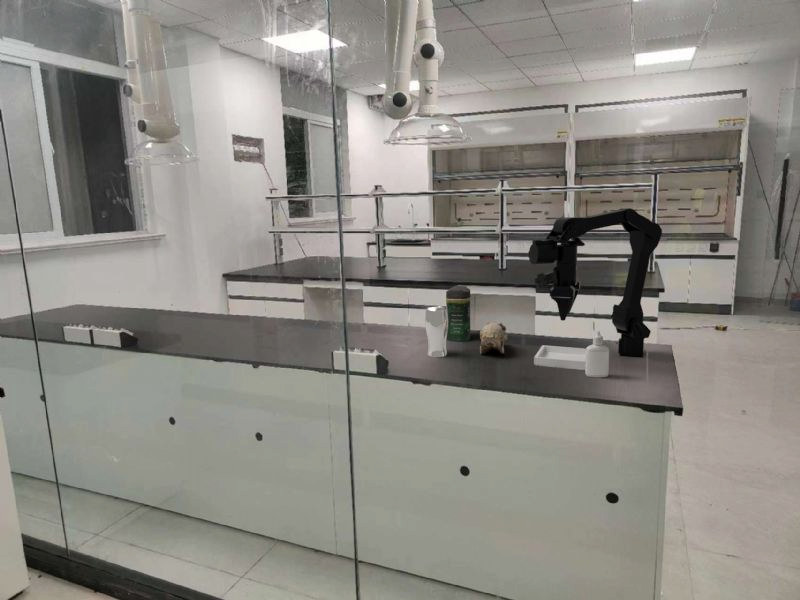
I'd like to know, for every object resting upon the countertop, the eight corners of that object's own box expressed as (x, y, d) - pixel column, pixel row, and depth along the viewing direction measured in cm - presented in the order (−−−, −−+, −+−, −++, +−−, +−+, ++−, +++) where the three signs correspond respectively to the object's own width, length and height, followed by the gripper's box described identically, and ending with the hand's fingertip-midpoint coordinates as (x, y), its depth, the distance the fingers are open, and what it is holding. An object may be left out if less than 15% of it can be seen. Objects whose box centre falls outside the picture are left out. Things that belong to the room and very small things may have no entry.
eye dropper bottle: (605, 379, 139) (606, 334, 137) (583, 376, 142) (584, 331, 140) (610, 375, 142) (611, 330, 140) (588, 371, 146) (590, 328, 144)
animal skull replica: (512, 347, 173) (512, 316, 172) (503, 361, 158) (503, 328, 156) (487, 345, 176) (487, 315, 174) (476, 359, 160) (475, 326, 159)
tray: (590, 356, 160) (590, 348, 159) (586, 370, 147) (586, 361, 147) (542, 352, 165) (542, 345, 165) (533, 365, 153) (534, 357, 152)
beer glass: (451, 354, 167) (450, 306, 164) (445, 360, 160) (444, 310, 158) (429, 353, 169) (428, 305, 166) (423, 359, 162) (422, 310, 160)
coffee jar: (467, 344, 178) (467, 288, 174) (444, 343, 180) (443, 288, 177) (472, 337, 187) (472, 284, 184) (450, 336, 189) (449, 284, 186)
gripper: (542, 259, 163) (541, 309, 166) (531, 265, 147) (530, 322, 149) (581, 259, 159) (579, 311, 161) (573, 266, 142) (572, 324, 145)
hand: (565, 317), depth 154 cm, fingers open, 9 cm apart
